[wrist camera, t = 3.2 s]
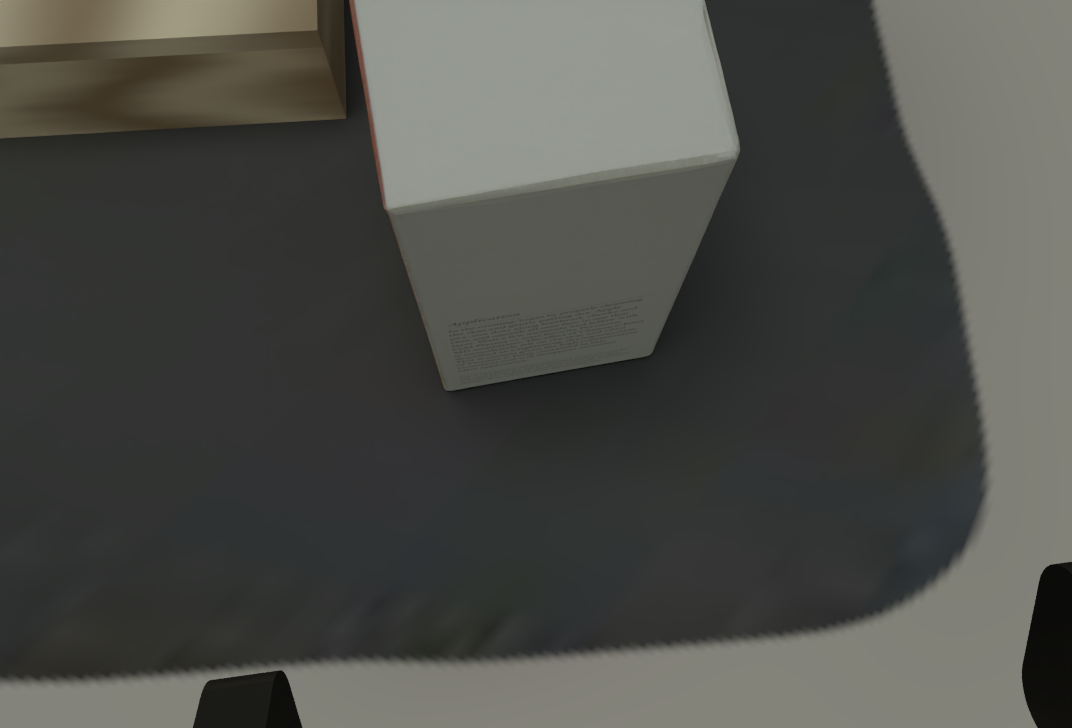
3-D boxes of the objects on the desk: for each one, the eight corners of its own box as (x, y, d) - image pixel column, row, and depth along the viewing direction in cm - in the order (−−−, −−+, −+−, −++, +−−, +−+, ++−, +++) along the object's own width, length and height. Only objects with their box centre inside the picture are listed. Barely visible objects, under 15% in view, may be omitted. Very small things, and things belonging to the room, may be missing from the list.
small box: (399, 149, 31) (317, -184, 19) (599, 117, 32) (651, -231, 19) (440, 400, 29) (379, 214, 17) (656, 362, 30) (755, 152, 17)
